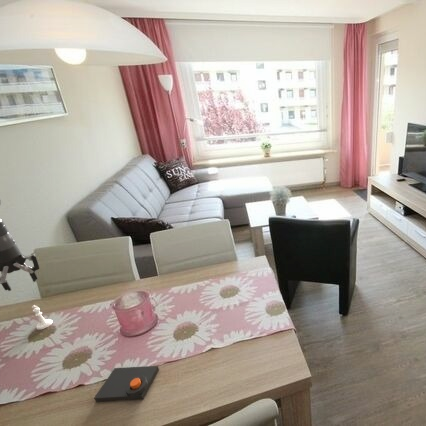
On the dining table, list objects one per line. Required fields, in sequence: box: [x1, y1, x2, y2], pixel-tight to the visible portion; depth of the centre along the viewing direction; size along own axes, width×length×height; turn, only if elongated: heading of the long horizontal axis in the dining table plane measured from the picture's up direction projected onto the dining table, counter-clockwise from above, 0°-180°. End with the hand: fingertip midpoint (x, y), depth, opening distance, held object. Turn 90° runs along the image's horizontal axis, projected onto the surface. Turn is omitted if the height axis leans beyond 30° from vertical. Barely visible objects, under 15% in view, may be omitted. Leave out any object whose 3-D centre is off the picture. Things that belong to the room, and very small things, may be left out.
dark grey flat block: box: [94, 365, 160, 403], centre depth 91 cm, size 10×14×4 cm
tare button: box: [130, 378, 141, 389], centre depth 88 cm, size 3×3×2 cm
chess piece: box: [31, 304, 53, 331], centre depth 115 cm, size 5×5×10 cm
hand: (22, 285), depth 109 cm, fingers open, 6 cm apart
